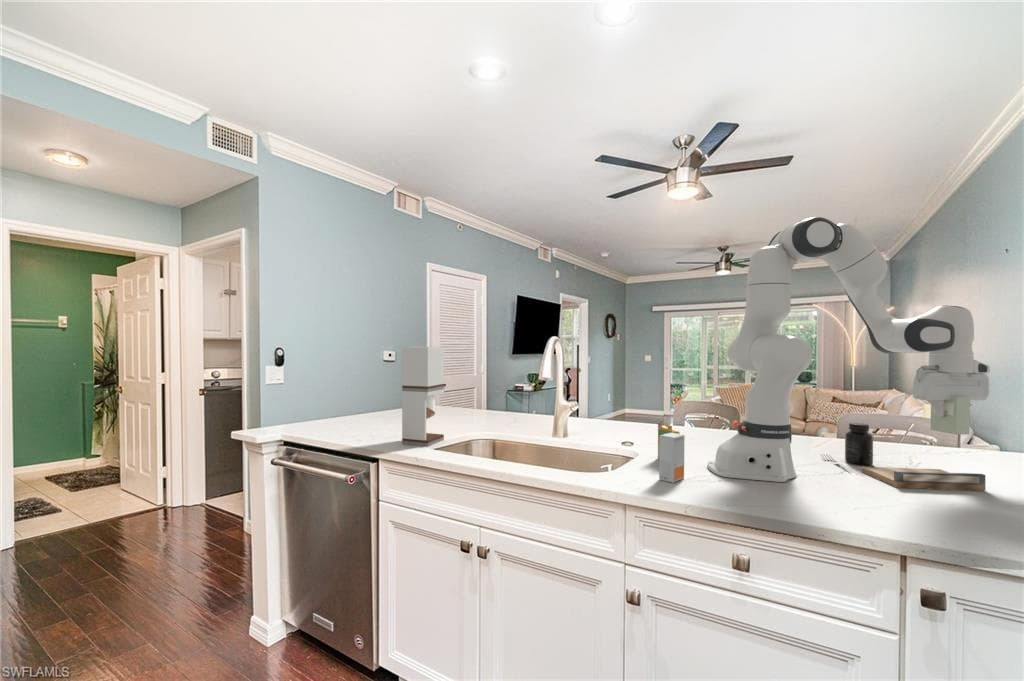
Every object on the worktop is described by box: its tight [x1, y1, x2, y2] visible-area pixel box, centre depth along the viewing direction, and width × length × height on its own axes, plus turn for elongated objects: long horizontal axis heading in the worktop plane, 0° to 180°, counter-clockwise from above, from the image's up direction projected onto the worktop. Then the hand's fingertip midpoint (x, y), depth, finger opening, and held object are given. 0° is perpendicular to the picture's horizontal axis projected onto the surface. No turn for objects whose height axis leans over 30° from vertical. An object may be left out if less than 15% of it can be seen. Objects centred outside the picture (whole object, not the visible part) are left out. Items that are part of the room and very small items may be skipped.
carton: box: [930, 396, 971, 436], centre depth 123 cm, size 4×6×10 cm, turn 8°
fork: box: [820, 453, 855, 474], centre depth 133 cm, size 3×24×2 cm, turn 168°
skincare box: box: [658, 433, 685, 484], centre depth 123 cm, size 6×4×12 cm
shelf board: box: [861, 466, 986, 491], centre depth 121 cm, size 20×14×4 cm
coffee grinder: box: [401, 346, 445, 447], centre depth 168 cm, size 11×11×35 cm
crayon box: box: [657, 421, 681, 460], centre depth 141 cm, size 7×3×12 cm, turn 16°
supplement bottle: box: [844, 422, 874, 467], centre depth 139 cm, size 7×7×12 cm
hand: (949, 416), depth 123 cm, fingers closed on carton, 4 cm apart
